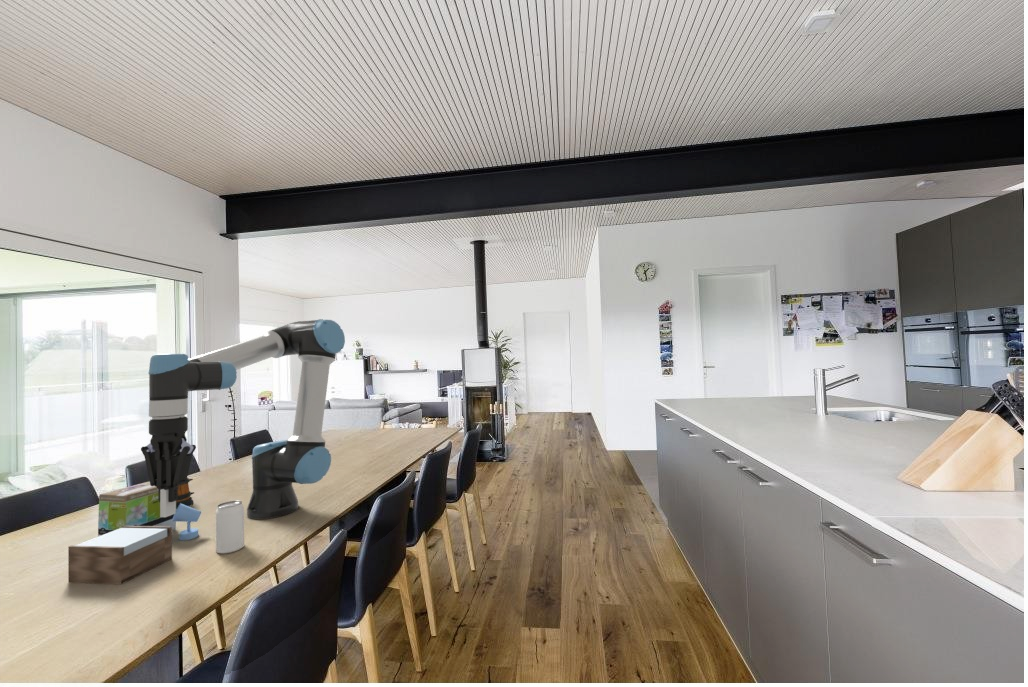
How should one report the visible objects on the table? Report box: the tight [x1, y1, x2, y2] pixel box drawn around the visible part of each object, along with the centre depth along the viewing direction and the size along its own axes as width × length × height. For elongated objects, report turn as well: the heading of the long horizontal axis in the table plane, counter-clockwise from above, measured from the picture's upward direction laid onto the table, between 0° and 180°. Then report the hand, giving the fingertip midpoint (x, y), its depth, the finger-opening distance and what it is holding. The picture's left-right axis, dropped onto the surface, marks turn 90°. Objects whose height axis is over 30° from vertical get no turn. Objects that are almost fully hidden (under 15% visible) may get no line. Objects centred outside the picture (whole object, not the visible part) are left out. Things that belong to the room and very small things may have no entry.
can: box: [215, 500, 245, 555], centre depth 120 cm, size 6×6×12 cm
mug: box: [176, 477, 195, 510], centre depth 160 cm, size 13×10×12 cm
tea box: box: [97, 481, 177, 537], centre depth 130 cm, size 15×10×15 cm, turn 168°
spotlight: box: [172, 503, 202, 541], centre depth 129 cm, size 5×10×7 cm
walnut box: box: [67, 526, 173, 585], centre depth 110 cm, size 14×13×8 cm
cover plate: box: [74, 528, 167, 556], centre depth 110 cm, size 13×11×2 cm
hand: (167, 515), depth 108 cm, fingers closed
